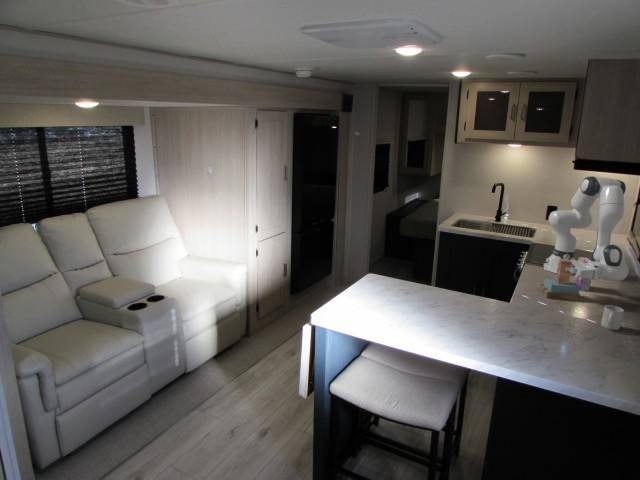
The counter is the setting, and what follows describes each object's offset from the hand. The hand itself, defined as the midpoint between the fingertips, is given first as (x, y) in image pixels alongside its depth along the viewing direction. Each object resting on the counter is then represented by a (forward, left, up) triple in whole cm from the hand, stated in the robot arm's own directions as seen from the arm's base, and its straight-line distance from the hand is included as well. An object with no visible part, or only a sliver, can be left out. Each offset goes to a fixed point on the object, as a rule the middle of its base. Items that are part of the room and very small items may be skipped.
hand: (563, 266), depth 240 cm
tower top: (0, +1, -13) cm, 13 cm away
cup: (+38, +12, -16) cm, 43 cm away
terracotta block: (0, +1, -9) cm, 9 cm away
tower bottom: (0, +1, -17) cm, 17 cm away
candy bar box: (-19, +17, -16) cm, 30 cm away
